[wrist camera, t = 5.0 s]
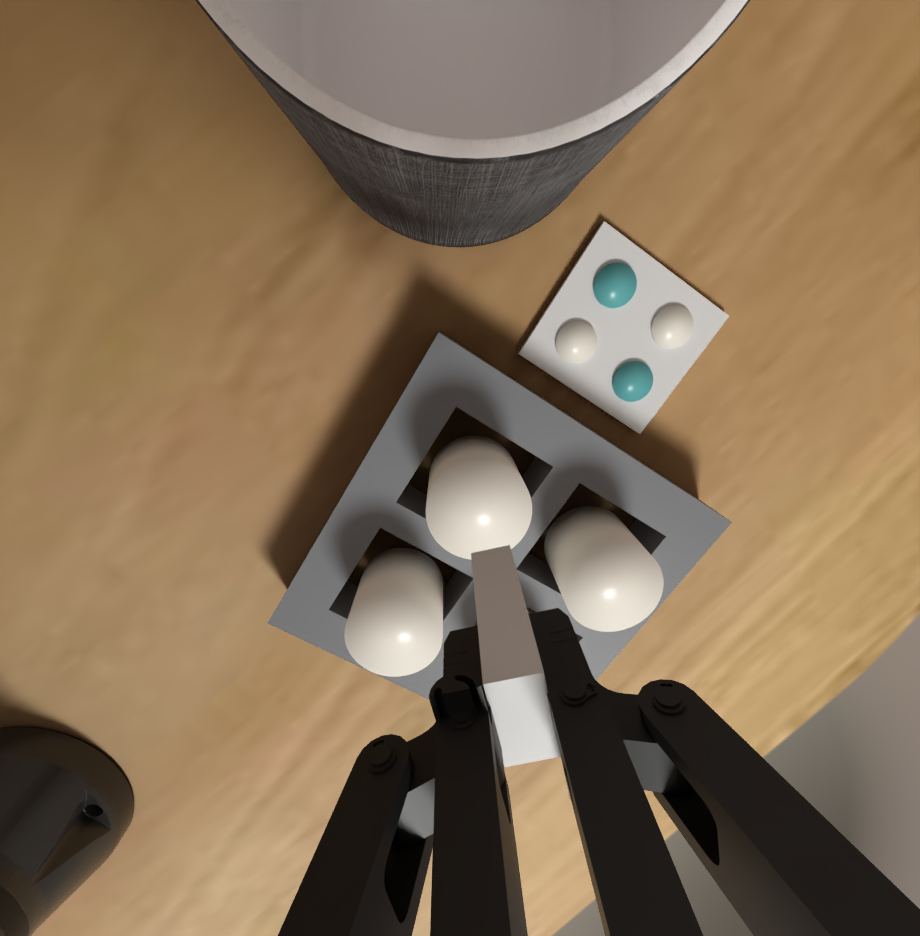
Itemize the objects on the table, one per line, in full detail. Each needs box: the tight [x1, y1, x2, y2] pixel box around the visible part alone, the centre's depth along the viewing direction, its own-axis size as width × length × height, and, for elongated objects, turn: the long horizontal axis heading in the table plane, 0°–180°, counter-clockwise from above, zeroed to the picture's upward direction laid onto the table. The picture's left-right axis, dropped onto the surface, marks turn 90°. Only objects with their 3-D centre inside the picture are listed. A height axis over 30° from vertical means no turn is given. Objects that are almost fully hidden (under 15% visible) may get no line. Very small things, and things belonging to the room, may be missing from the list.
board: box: [268, 331, 732, 699], centre depth 32 cm, size 22×22×4 cm
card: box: [518, 221, 729, 434], centre depth 29 cm, size 10×9×1 cm
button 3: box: [544, 506, 664, 632], centre depth 28 cm, size 6×6×6 cm
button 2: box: [426, 436, 532, 560], centre depth 27 cm, size 6×6×6 cm
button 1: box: [344, 548, 443, 677], centre depth 29 cm, size 6×6×6 cm
